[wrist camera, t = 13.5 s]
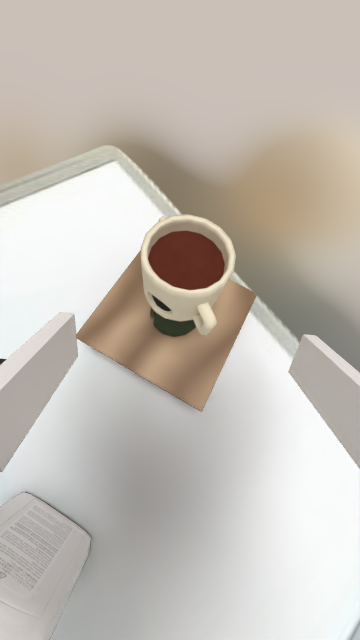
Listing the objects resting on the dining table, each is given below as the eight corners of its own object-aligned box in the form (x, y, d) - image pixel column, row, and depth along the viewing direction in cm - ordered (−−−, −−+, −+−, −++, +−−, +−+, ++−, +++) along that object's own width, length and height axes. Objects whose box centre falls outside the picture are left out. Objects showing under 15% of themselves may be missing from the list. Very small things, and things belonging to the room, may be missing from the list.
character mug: (134, 286, 29) (118, 206, 17) (183, 270, 31) (202, 187, 19) (164, 364, 26) (171, 336, 14) (217, 343, 28) (266, 301, 16)
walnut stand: (86, 346, 31) (74, 336, 26) (151, 257, 37) (150, 237, 32) (194, 409, 30) (201, 411, 25) (243, 307, 35) (257, 294, 31)
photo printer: (-7, 525, 24) (-159, 646, 12) (22, 483, 25) (-90, 556, 14) (74, 581, 23) (-9, 765, 12) (99, 534, 25) (48, 656, 13)
